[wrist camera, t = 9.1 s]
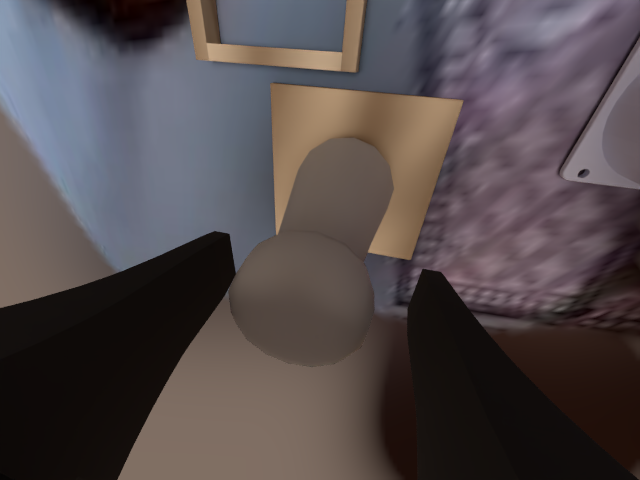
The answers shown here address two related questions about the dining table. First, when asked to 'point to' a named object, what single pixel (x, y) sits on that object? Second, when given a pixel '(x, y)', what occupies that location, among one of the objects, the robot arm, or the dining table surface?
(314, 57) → the birch collar
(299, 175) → the beige bowling pin
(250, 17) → the dining table surface
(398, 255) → the cork mat
